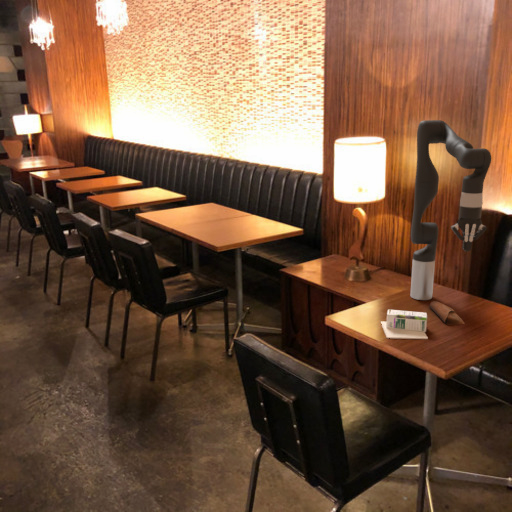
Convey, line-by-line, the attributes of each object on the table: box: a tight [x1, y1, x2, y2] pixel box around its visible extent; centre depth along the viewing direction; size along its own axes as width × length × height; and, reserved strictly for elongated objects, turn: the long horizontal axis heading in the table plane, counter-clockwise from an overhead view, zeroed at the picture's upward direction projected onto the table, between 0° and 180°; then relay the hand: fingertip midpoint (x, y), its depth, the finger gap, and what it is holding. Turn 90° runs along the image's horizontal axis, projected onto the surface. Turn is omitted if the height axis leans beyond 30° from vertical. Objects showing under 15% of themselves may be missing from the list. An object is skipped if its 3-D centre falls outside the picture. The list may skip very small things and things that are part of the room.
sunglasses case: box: [429, 300, 466, 326], centre depth 215 cm, size 18×7×7 cm, turn 2°
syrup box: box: [385, 309, 428, 333], centre depth 203 cm, size 6×6×14 cm
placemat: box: [380, 320, 429, 340], centre depth 202 cm, size 15×14×1 cm
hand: (466, 250), depth 200 cm, fingers closed
